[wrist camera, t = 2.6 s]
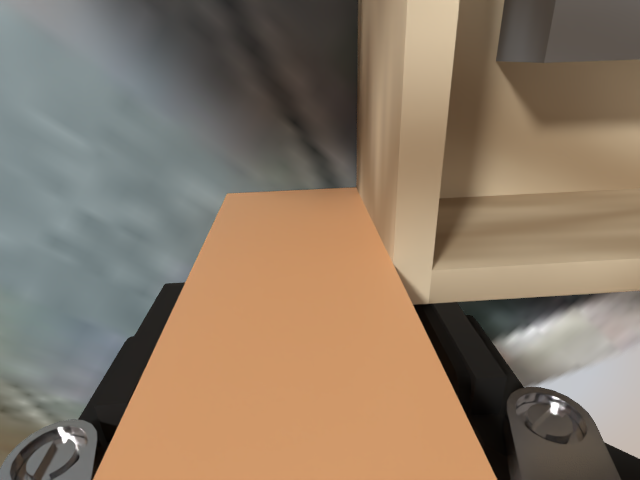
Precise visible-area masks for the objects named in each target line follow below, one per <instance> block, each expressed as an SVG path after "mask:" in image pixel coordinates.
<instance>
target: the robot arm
mask: <svg viewBox="0 0 640 480" xmlns="http://www.w3.org/2000/svg"><path fill="white" fill-rule="evenodd" d="M184 285H185V283H168V284H165V285H164V286H163V288H162V290H161V291H160V293H159V295H158V296H157V298H156V300H155V302H154V303H153V305H152V307H151V308H150V310H149V312H148V314H147V315H146V317H145V319H144V320H143V322H142V324H141V326H140V327H139V329H138V331H137V332H136V334H135V336H132V337H130V338H128V339H127V340H126V342H125V343H124V345H123V346H122V348H121V350H120V351H119V353H118V355H117V356H116V358H115V360H114V361H113V363H112V365H111V366H110V368H109V369H108V371H107V373H106V374H105V376H104V378H103V379H102V381H101V383H100V384H99V386H98V388H97V389H96V391H95V393H94V394H93V396H92V398H91V399H90V401H89V403H88V404H87V406H86V408H85V409H84V411H83V413H82V414H81V416H80V417H79V419H78V420H74V419H72V420H66V421H60V422H57V423H54V424H51V425H49V426H46V427H44V428H42V429H40V430H39V431H37V432H35V433H33V434H31V435H30V436H29V437H27V438H26V439H25V440H23V441H22V442H21V443H20V444H18V445H17V446H16V447H15V448H14V450H13V451H12V452H11V453H10V454H9V455H8V456H7V458H6V459H5V461H4V463H3V465H2V466H1V468H0V480H93V478H94V476H95V474H96V472H97V470H98V468H99V466H100V464H101V461H102V459H103V457H104V455H105V453H106V451H107V449H108V446H109V444H110V442H111V440H112V438H113V436H114V434H115V432H116V429H117V427H118V425H119V423H120V421H121V419H122V417H123V415H124V412H125V410H126V408H127V406H128V404H129V402H130V400H131V397H132V395H133V393H134V391H135V389H136V387H137V385H138V383H139V380H140V378H141V376H142V374H143V372H144V370H145V368H146V366H147V363H148V361H149V359H150V357H151V355H152V353H153V351H154V348H155V346H156V344H157V342H158V340H159V338H160V336H161V334H162V331H163V329H164V327H165V325H166V323H167V321H168V319H169V317H170V314H171V312H172V310H173V308H174V306H175V304H176V302H177V300H178V297H179V295H180V293H181V291H182V289H183V287H184ZM413 306H414V308H415V310H416V312H417V314H418V316H419V319H420V321H421V323H422V325H423V327H424V329H425V331H426V333H427V335H428V337H429V339H430V341H431V343H432V346H433V348H434V350H435V352H436V354H437V356H438V358H439V360H440V362H441V364H442V366H443V368H444V370H445V372H446V375H447V377H448V379H449V381H450V383H451V385H452V387H453V389H454V391H455V393H456V395H457V397H458V399H459V401H460V404H461V406H462V408H463V410H464V412H465V414H466V416H467V418H468V420H469V422H470V424H471V426H472V428H473V430H474V433H475V435H476V437H477V439H478V441H479V443H480V445H481V447H482V449H483V451H484V453H485V455H486V457H487V459H488V462H489V464H490V466H491V468H492V470H493V472H494V474H495V476H496V478H497V480H640V459H638V458H636V457H634V456H632V455H630V454H628V453H626V452H623V451H621V450H619V449H617V448H615V447H613V446H610V445H609V444H607V443H604V441H603V439H602V437H601V435H600V432H599V430H598V428H597V426H596V424H595V422H594V421H593V419H592V418H591V416H590V415H589V413H588V412H587V411H586V410H585V409H583V408H582V407H581V406H580V405H579V404H578V403H576V402H575V401H573V400H572V399H570V398H569V397H567V396H565V395H563V394H560V393H558V392H556V391H553V390H549V389H545V388H541V387H526V388H524V387H523V386H522V384H521V383H520V381H519V380H518V379H517V377H516V376H515V374H514V373H513V371H512V370H511V369H510V367H509V366H508V364H507V363H506V362H505V360H504V359H503V357H502V356H501V355H500V353H499V352H498V350H497V349H496V347H495V346H494V345H493V343H492V342H491V340H490V339H489V338H488V336H487V335H486V333H485V332H484V331H483V329H482V328H481V326H480V325H479V323H478V322H477V321H476V319H475V318H474V317H473V316H470V315H465V314H464V312H463V311H462V310H461V308H460V307H459V305H458V304H457V302H448V303H431V304H415V305H413Z"/></svg>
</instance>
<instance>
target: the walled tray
mask: <svg viewBox="0 0 640 480" xmlns="http://www.w3.org/2000/svg"><path fill="white" fill-rule="evenodd" d="M356 188H357V190H358V192H359V194H360V196H361V198H362V200H363V203H364V205H365V207H366V209H367V211H368V213H369V215H370V217H371V219H372V221H373V223H374V225H375V227H376V229H377V232H378V234H379V236H380V238H381V240H382V242H383V244H384V246H385V248H386V250H387V252H388V254H389V256H390V258H391V261H392V263H393V265H394V267H395V269H396V271H397V273H398V275H399V277H400V279H401V281H402V283H403V285H404V287H405V290H406V292H407V294H408V296H409V298H410V300H411V302H412V304H413V305H415V304H431V303H448V302H464V301H480V300H497V299H513V298H529V297H545V296H562V295H578V294H594V293H611V292H627V291H640V0H358V76H357V183H356Z"/></svg>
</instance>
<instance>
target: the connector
mask: <svg viewBox="0 0 640 480" xmlns="http://www.w3.org/2000/svg"><path fill="white" fill-rule="evenodd" d="M93 480H497V478H496V476H495V474H494V472H493V470H492V468H491V466H490V464H489V462H488V459H487V457H486V455H485V453H484V451H483V449H482V447H481V445H480V443H479V441H478V439H477V437H476V435H475V433H474V430H473V428H472V426H471V424H470V422H469V420H468V418H467V416H466V414H465V412H464V410H463V408H462V406H461V404H460V401H459V399H458V397H457V395H456V393H455V391H454V389H453V387H452V385H451V383H450V381H449V379H448V377H447V375H446V372H445V370H444V368H443V366H442V364H441V362H440V360H439V358H438V356H437V354H436V352H435V350H434V348H433V346H432V343H431V341H430V339H429V337H428V335H427V333H426V331H425V329H424V327H423V325H422V323H421V321H420V319H419V316H418V314H417V312H416V310H415V308H414V306H413V304H412V302H411V300H410V298H409V296H408V294H407V292H406V290H405V287H404V285H403V283H402V281H401V279H400V277H399V275H398V273H397V271H396V269H395V267H394V265H393V263H392V261H391V258H390V256H389V254H388V252H387V250H386V248H385V246H384V244H383V242H382V240H381V238H380V236H379V234H378V232H377V229H376V227H375V225H374V223H373V221H372V219H371V217H370V215H369V213H368V211H367V209H366V207H365V205H364V203H363V200H362V198H361V196H360V194H359V192H358V190H357V188H356V187H353V188H332V189H312V190H291V191H271V192H250V193H230V194H227V195H226V197H225V199H224V202H223V204H222V206H221V208H220V210H219V212H218V214H217V216H216V219H215V221H214V223H213V225H212V227H211V229H210V231H209V233H208V236H207V238H206V240H205V242H204V244H203V246H202V248H201V251H200V253H199V255H198V257H197V259H196V261H195V263H194V265H193V268H192V270H191V272H190V274H189V276H188V278H187V280H186V282H185V285H184V287H183V289H182V291H181V293H180V295H179V297H178V300H177V302H176V304H175V306H174V308H173V310H172V312H171V314H170V317H169V319H168V321H167V323H166V325H165V327H164V329H163V331H162V334H161V336H160V338H159V340H158V342H157V344H156V346H155V348H154V351H153V353H152V355H151V357H150V359H149V361H148V363H147V366H146V368H145V370H144V372H143V374H142V376H141V378H140V380H139V383H138V385H137V387H136V389H135V391H134V393H133V395H132V397H131V400H130V402H129V404H128V406H127V408H126V410H125V412H124V415H123V417H122V419H121V421H120V423H119V425H118V427H117V429H116V432H115V434H114V436H113V438H112V440H111V442H110V444H109V446H108V449H107V451H106V453H105V455H104V457H103V459H102V461H101V464H100V466H99V468H98V470H97V472H96V474H95V476H94V478H93Z"/></svg>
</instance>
